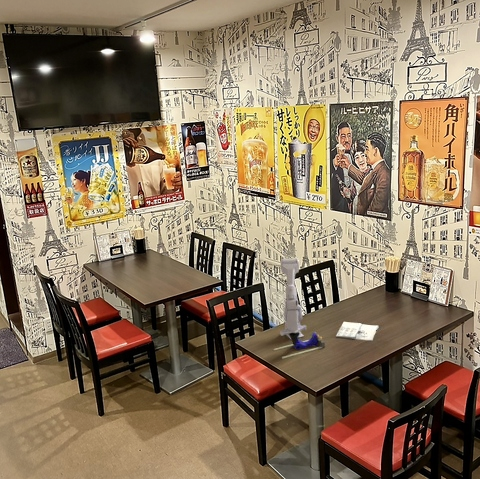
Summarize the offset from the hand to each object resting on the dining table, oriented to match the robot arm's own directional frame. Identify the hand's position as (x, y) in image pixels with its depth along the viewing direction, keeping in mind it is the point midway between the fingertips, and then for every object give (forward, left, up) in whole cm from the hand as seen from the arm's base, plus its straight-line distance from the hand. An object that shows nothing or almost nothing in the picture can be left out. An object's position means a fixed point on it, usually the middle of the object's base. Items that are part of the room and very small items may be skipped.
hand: (294, 344), depth 259 cm
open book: (-1, +39, -4) cm, 40 cm away
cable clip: (-1, +7, -3) cm, 8 cm away
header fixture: (0, +3, -3) cm, 4 cm away
